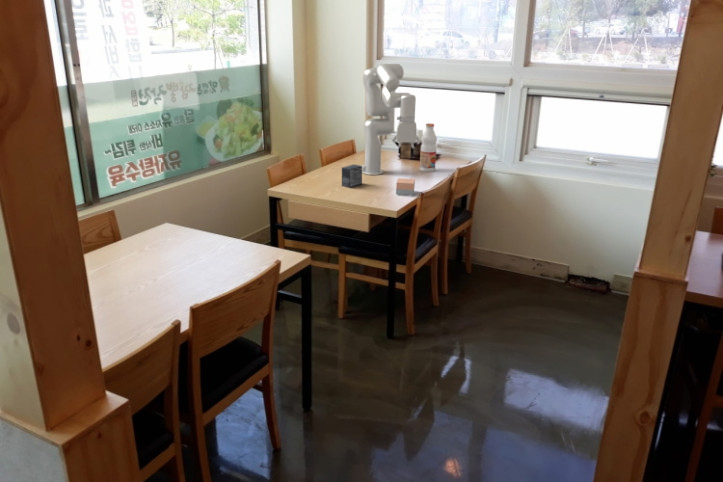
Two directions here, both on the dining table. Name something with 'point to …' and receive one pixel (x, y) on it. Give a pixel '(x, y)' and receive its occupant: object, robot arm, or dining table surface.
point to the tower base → (404, 192)
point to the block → (405, 150)
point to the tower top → (405, 184)
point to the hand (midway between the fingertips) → (405, 154)
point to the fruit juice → (428, 150)
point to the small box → (351, 176)
